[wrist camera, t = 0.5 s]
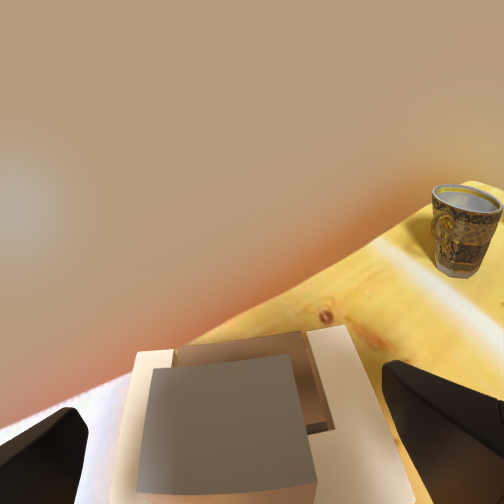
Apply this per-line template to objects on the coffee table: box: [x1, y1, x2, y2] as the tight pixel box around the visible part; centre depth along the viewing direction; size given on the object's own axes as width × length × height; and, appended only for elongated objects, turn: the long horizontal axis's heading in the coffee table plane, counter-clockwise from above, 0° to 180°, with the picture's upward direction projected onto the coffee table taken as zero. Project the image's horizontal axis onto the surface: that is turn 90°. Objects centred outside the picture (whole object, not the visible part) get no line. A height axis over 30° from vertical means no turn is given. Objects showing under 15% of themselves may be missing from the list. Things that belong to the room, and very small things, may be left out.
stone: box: [136, 353, 318, 504], centre depth 10 cm, size 5×5×8 cm
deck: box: [109, 324, 417, 504], centre depth 18 cm, size 14×16×6 cm
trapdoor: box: [176, 331, 328, 435], centre depth 19 cm, size 9×9×1 cm
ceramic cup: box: [431, 184, 503, 279], centre depth 33 cm, size 13×10×10 cm
